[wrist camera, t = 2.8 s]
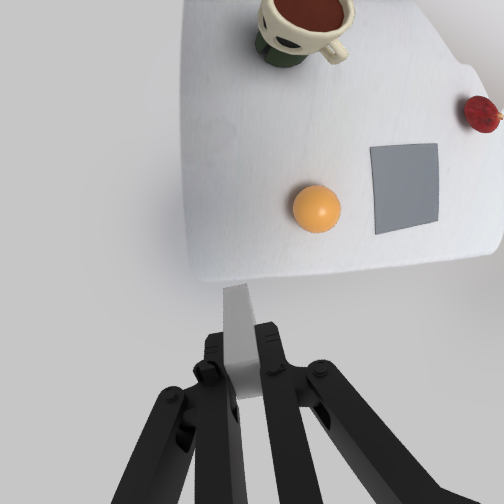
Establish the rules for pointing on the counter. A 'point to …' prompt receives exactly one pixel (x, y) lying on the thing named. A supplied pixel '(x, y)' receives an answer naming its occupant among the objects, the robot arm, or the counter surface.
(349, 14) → the character mug
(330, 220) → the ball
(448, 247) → the counter surface
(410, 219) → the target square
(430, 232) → the counter surface
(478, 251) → the counter surface
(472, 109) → the onion
